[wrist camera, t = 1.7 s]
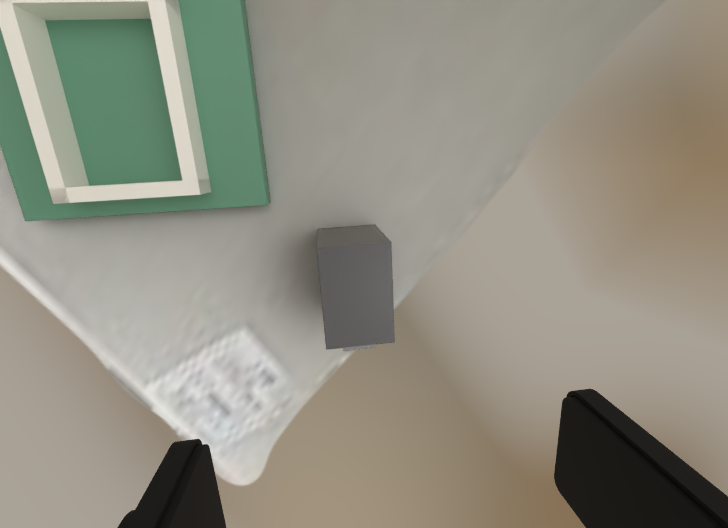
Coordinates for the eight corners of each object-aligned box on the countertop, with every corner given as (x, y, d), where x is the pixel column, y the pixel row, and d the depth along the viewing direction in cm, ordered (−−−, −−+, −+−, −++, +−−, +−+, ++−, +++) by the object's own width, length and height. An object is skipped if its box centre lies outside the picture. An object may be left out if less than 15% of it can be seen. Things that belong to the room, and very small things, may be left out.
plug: (318, 228, 24) (316, 248, 18) (375, 224, 24) (391, 242, 19) (326, 318, 26) (327, 361, 20) (379, 313, 26) (395, 354, 21)
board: (-70, -151, 17) (-167, -229, 14) (226, -143, 18) (204, -213, 15) (44, 217, 22) (-6, 226, 19) (270, 202, 23) (261, 208, 20)
